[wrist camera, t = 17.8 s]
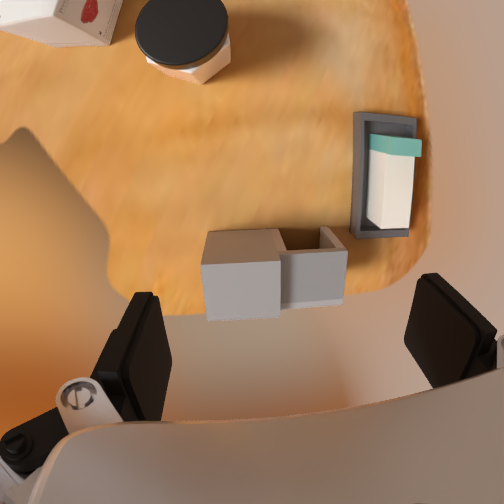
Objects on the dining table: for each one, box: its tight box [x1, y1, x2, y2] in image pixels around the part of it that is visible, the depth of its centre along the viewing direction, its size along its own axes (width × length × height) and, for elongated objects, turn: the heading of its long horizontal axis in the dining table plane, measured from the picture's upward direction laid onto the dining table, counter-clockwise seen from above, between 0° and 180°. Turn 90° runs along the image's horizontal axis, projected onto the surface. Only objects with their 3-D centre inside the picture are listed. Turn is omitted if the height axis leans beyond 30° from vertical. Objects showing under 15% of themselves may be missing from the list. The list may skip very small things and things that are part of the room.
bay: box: [201, 226, 348, 321], centre depth 38 cm, size 7×16×10 cm, turn 92°
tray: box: [350, 112, 417, 239], centre depth 38 cm, size 16×8×2 cm, turn 2°
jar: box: [135, 0, 231, 85], centre depth 27 cm, size 9×8×12 cm
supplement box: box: [0, 0, 123, 47], centre depth 22 cm, size 9×9×15 cm
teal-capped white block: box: [366, 134, 422, 229], centre depth 36 cm, size 11×4×6 cm, turn 2°
